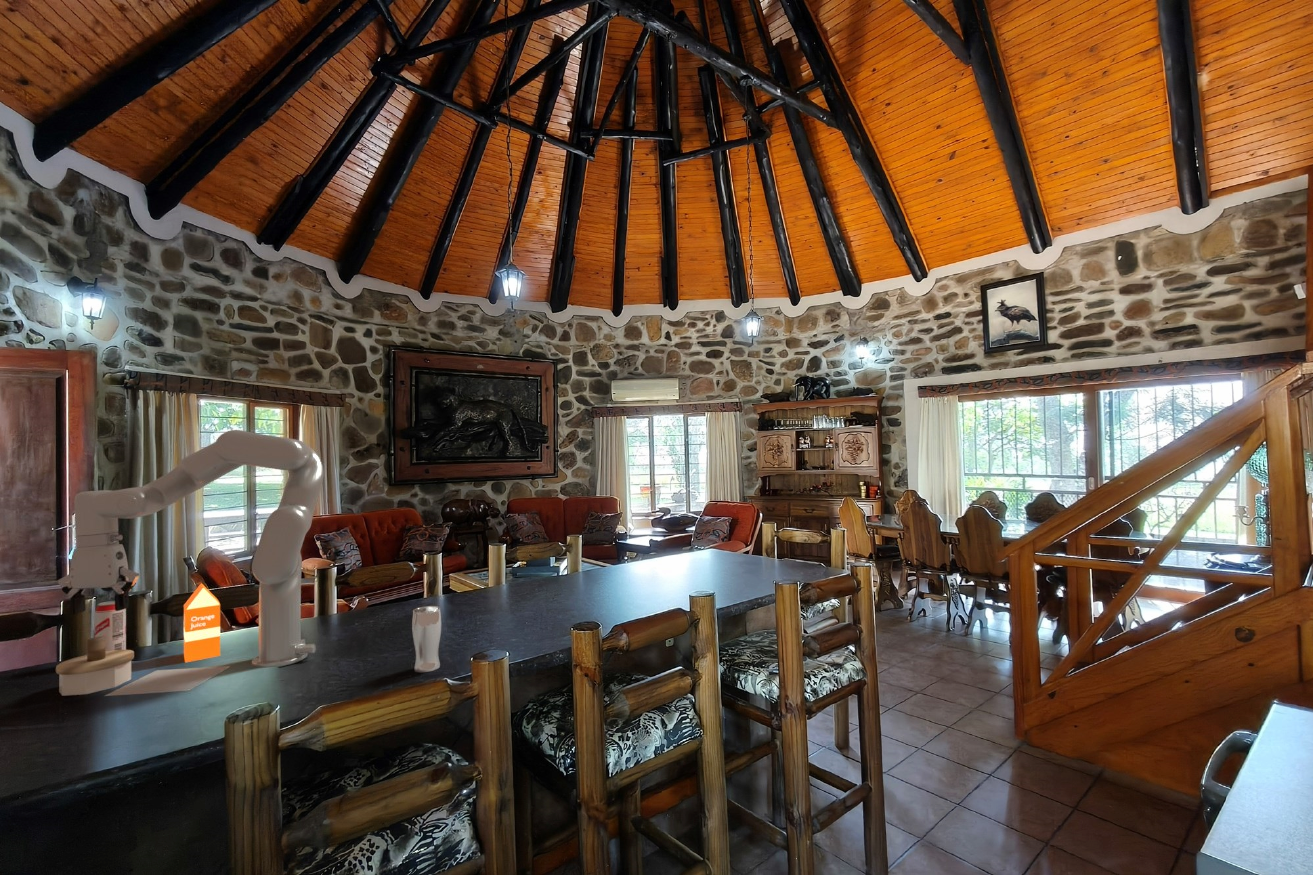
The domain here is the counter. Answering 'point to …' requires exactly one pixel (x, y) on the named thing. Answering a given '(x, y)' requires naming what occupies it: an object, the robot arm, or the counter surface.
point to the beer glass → (426, 637)
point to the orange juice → (201, 625)
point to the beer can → (111, 625)
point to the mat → (169, 681)
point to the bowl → (94, 680)
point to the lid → (95, 658)
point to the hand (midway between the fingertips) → (100, 611)
